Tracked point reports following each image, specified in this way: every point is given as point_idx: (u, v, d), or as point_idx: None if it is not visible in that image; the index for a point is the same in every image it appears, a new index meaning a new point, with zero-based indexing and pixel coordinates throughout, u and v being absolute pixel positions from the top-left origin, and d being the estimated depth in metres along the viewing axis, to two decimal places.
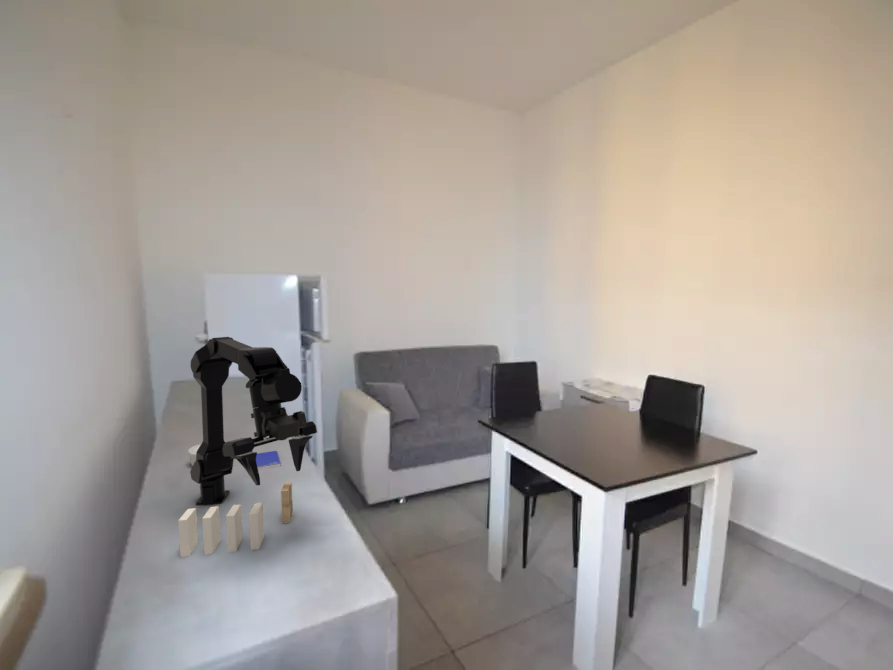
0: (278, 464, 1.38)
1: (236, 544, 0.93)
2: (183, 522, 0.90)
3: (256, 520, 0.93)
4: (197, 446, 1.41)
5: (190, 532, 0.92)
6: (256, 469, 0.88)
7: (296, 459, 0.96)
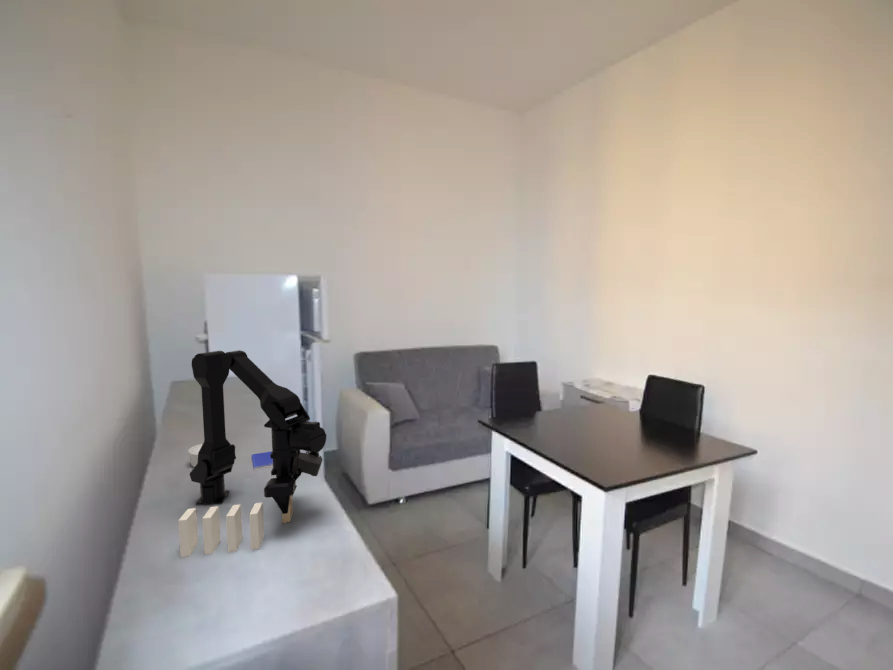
0: None
1: (236, 544, 0.93)
2: (183, 522, 0.90)
3: (256, 520, 0.93)
4: (197, 446, 1.41)
5: (190, 532, 0.92)
6: (289, 500, 1.03)
7: None
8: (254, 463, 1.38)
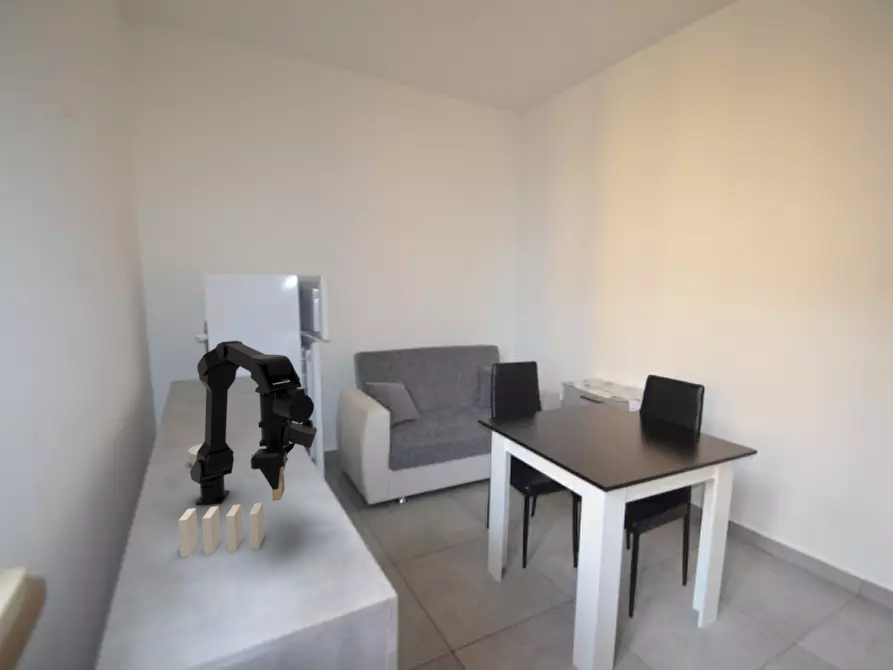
0: None
1: (236, 544, 0.93)
2: (183, 522, 0.90)
3: (256, 520, 0.93)
4: (197, 446, 1.41)
5: (190, 532, 0.92)
6: None
7: None
8: None
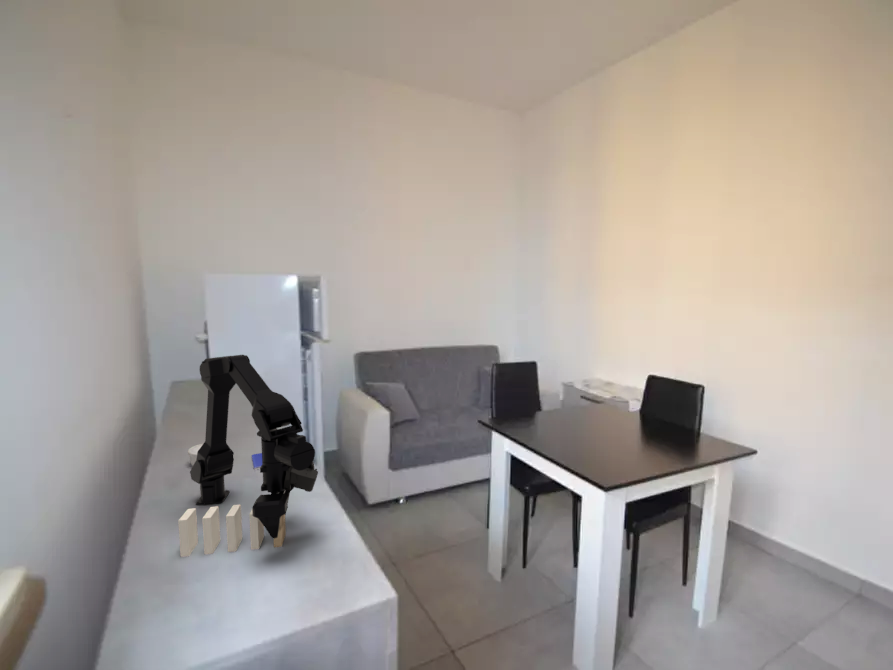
0: None
1: (236, 544, 0.93)
2: (183, 522, 0.90)
3: (256, 520, 0.93)
4: (197, 446, 1.41)
5: (190, 532, 0.92)
6: (279, 523, 0.91)
7: None
8: (254, 463, 1.38)
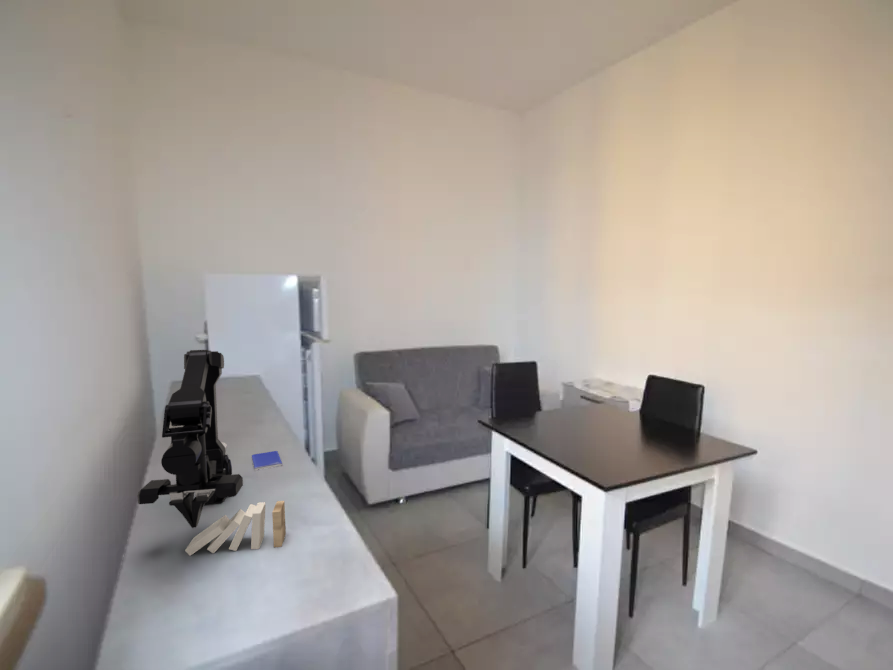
0: (279, 464, 1.38)
1: (239, 544, 0.93)
2: (218, 531, 0.91)
3: (259, 520, 0.93)
4: None
5: None
6: None
7: None
8: (255, 463, 1.38)
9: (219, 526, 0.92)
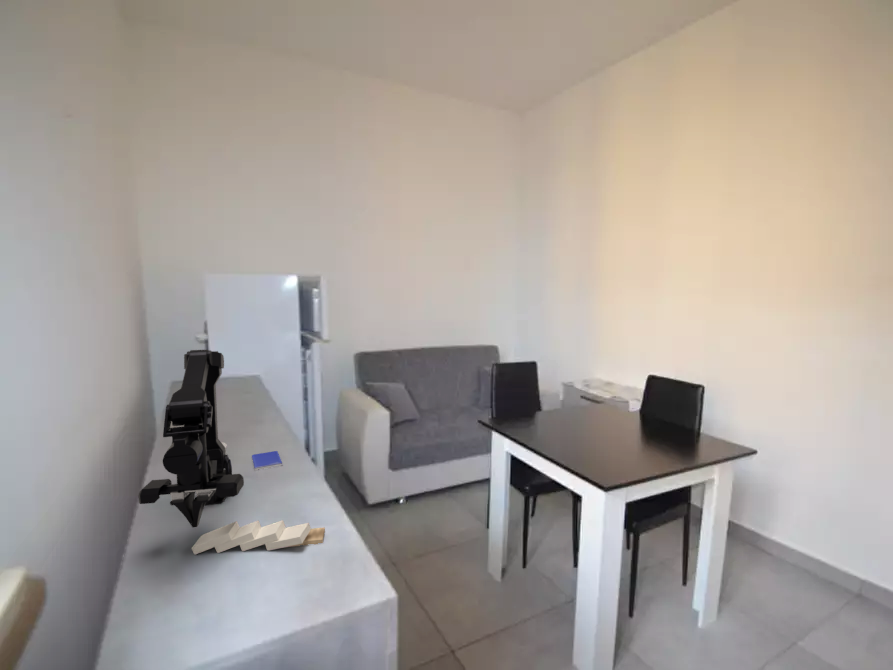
0: (279, 464, 1.38)
1: None
2: (227, 538, 0.92)
3: (295, 544, 0.92)
4: None
5: None
6: None
7: None
8: (255, 463, 1.38)
9: (229, 533, 0.92)
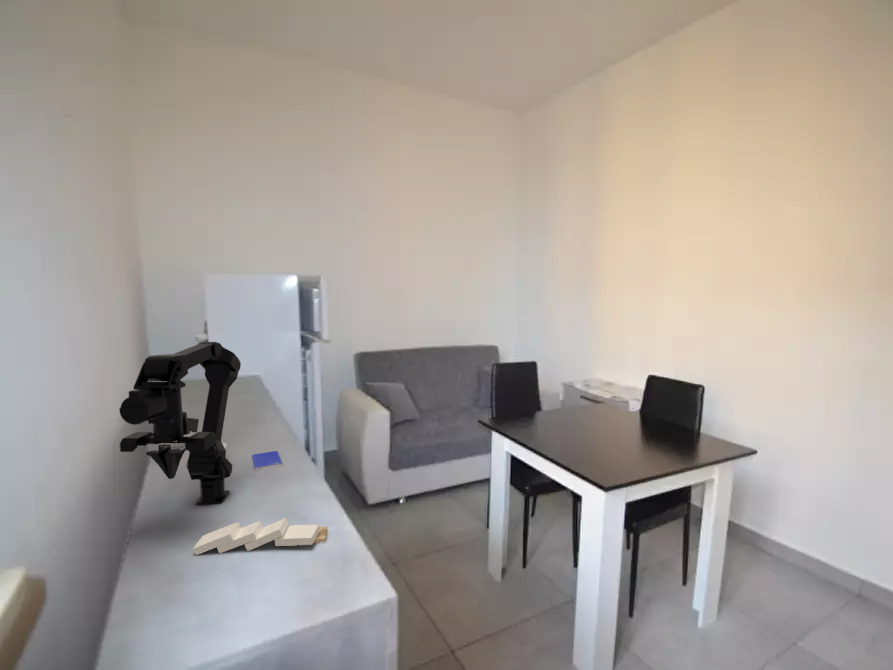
0: (280, 464, 1.38)
1: None
2: (229, 538, 0.92)
3: (305, 544, 0.93)
4: None
5: None
6: None
7: None
8: (255, 463, 1.38)
9: (231, 534, 0.92)
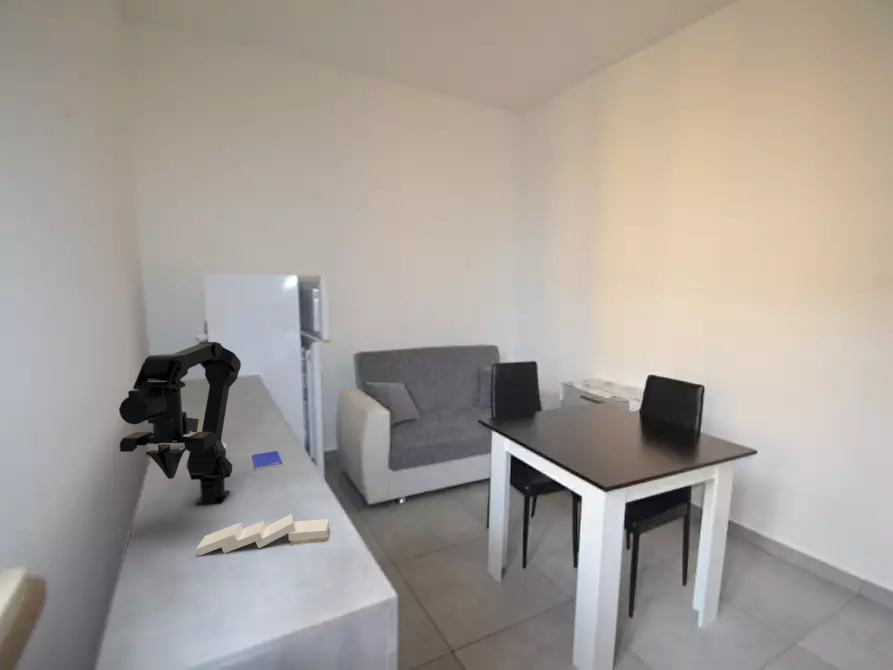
0: (280, 464, 1.38)
1: None
2: (233, 539, 0.92)
3: (319, 537, 0.96)
4: None
5: None
6: None
7: None
8: (255, 463, 1.38)
9: (235, 534, 0.92)
